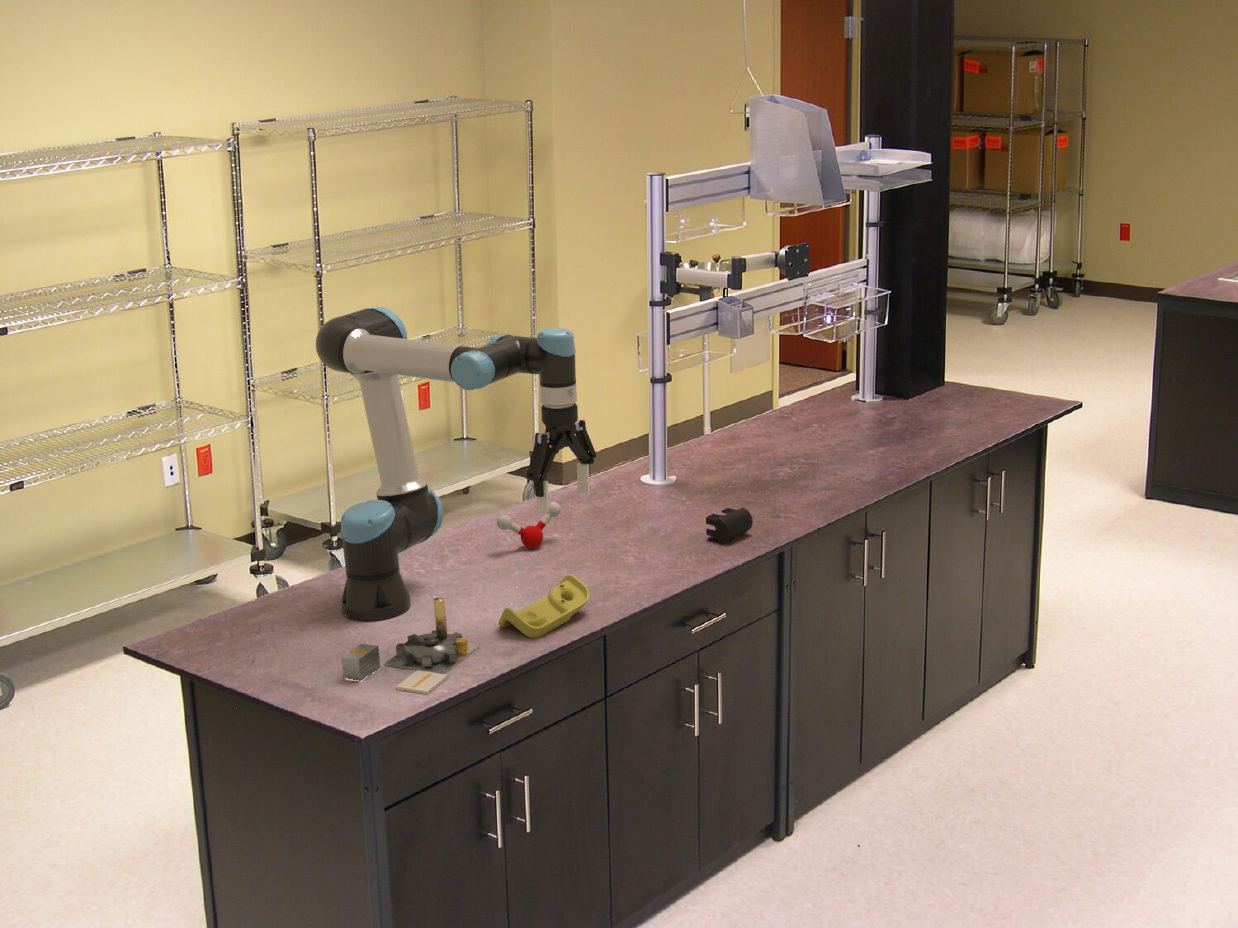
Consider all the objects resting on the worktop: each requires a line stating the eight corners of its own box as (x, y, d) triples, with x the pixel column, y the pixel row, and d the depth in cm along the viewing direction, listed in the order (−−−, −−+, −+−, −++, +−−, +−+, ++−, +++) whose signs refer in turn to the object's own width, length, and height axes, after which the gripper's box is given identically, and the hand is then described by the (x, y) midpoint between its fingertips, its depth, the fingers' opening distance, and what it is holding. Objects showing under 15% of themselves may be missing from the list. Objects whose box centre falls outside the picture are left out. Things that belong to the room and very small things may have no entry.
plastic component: (535, 631, 305) (502, 603, 309) (527, 656, 309) (495, 628, 313) (598, 595, 318) (566, 568, 323) (591, 620, 323) (559, 593, 327)
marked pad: (396, 689, 286) (395, 685, 286) (418, 672, 293) (417, 669, 293) (427, 694, 283) (426, 690, 283) (448, 677, 290) (448, 674, 290)
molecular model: (553, 535, 369) (550, 497, 366) (567, 541, 365) (565, 502, 362) (496, 553, 358) (493, 514, 356) (510, 559, 354) (507, 519, 351)
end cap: (728, 546, 355) (727, 520, 353) (705, 541, 360) (704, 515, 358) (753, 535, 362) (752, 509, 360) (731, 530, 367) (730, 504, 365)
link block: (343, 680, 292) (341, 656, 290) (363, 666, 298) (361, 643, 296) (361, 683, 290) (358, 659, 289) (380, 669, 296) (378, 645, 295)
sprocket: (384, 661, 297) (380, 615, 294) (421, 635, 309) (416, 591, 306) (444, 670, 292) (440, 623, 289) (479, 643, 304) (475, 598, 301)
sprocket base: (384, 665, 297) (384, 663, 297) (421, 639, 310) (421, 636, 309) (444, 674, 292) (444, 672, 292) (479, 647, 304) (479, 644, 304)
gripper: (534, 420, 293) (539, 521, 299) (610, 393, 312) (614, 488, 318) (505, 415, 297) (511, 515, 303) (582, 388, 316) (586, 483, 322)
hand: (564, 501), depth 311 cm, fingers open, 13 cm apart
